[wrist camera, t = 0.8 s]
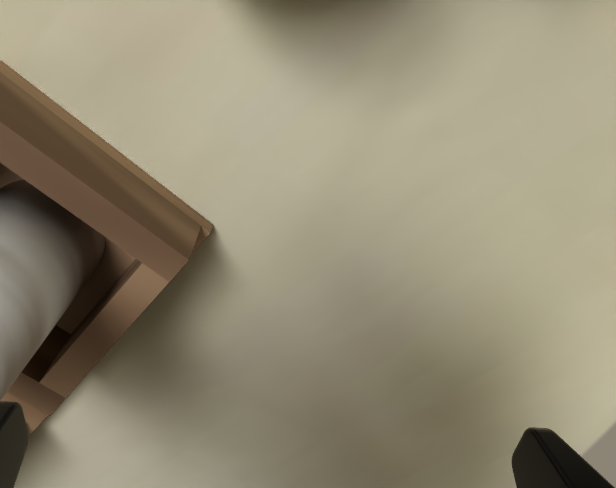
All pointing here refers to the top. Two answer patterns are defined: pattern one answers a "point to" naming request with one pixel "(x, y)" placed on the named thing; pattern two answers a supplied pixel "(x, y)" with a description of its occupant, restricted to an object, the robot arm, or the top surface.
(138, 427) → the top surface
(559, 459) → the robot arm
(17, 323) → the caddy
